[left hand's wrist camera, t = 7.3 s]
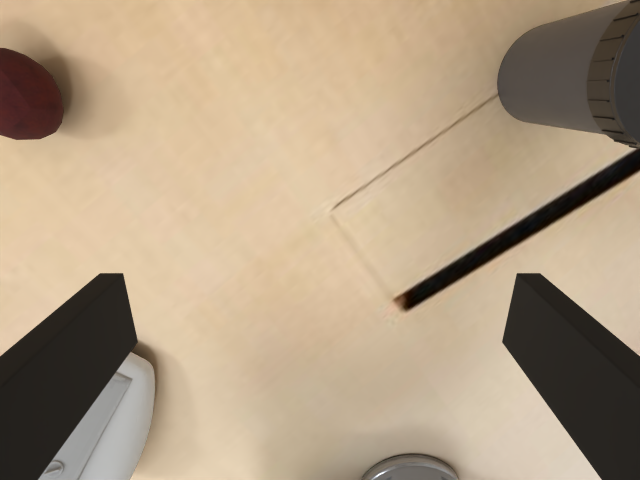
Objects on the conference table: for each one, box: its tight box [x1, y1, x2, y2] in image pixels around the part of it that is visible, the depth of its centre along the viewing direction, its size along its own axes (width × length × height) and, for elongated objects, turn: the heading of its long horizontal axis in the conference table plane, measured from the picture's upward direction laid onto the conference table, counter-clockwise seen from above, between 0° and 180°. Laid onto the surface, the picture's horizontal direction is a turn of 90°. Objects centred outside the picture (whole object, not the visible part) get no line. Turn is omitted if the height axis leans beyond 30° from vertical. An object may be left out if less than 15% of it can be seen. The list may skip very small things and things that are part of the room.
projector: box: [38, 352, 155, 480], centre depth 44 cm, size 22×23×15 cm
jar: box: [498, 0, 631, 135], centre depth 29 cm, size 9×9×16 cm
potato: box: [0, 48, 63, 140], centre depth 33 cm, size 7×8×7 cm
